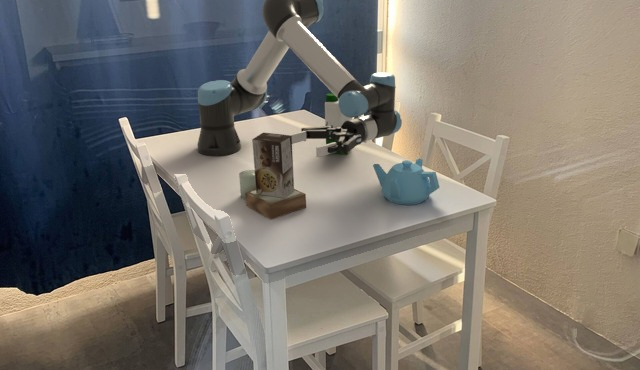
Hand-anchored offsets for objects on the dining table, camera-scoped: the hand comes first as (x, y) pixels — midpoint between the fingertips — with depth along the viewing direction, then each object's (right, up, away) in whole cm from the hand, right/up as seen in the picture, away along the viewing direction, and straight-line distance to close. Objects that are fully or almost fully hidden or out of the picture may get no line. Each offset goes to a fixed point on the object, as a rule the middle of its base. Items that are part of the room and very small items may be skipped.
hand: (301, 146), depth 177 cm
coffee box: (-7, -13, -1) cm, 15 cm away
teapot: (+30, -14, +5) cm, 33 cm away
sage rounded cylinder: (-15, -14, +8) cm, 22 cm away
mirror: (-7, -17, 0) cm, 18 cm away
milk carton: (+12, +1, +43) cm, 45 cm away
